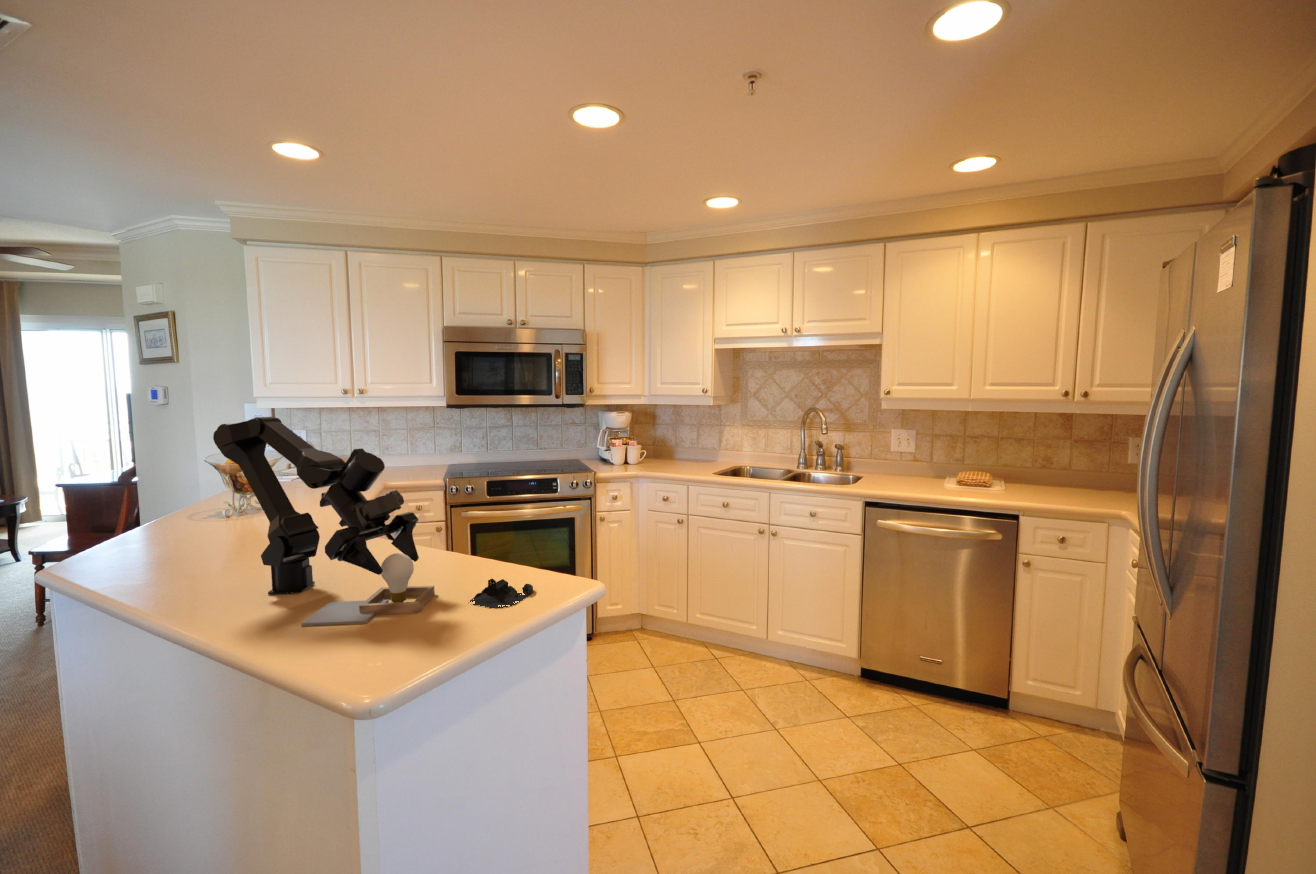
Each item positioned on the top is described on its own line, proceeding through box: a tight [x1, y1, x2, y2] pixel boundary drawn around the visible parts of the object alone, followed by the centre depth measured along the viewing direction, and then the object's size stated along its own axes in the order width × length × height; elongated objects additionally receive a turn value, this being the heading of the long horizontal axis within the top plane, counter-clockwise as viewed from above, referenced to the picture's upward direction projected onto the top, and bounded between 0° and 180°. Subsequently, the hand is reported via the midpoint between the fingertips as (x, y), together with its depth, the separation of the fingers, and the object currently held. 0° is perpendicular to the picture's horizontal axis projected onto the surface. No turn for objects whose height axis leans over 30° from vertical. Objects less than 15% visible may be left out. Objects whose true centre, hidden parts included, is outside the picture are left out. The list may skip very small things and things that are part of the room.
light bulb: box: [380, 552, 415, 603], centre depth 115 cm, size 6×6×10 cm
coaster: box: [300, 599, 390, 627], centre depth 111 cm, size 11×11×1 cm
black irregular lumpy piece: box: [469, 578, 534, 609], centre depth 118 cm, size 12×10×5 cm
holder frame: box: [359, 584, 436, 616], centre depth 115 cm, size 10×10×2 cm
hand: (399, 566), depth 115 cm, fingers open, 9 cm apart
